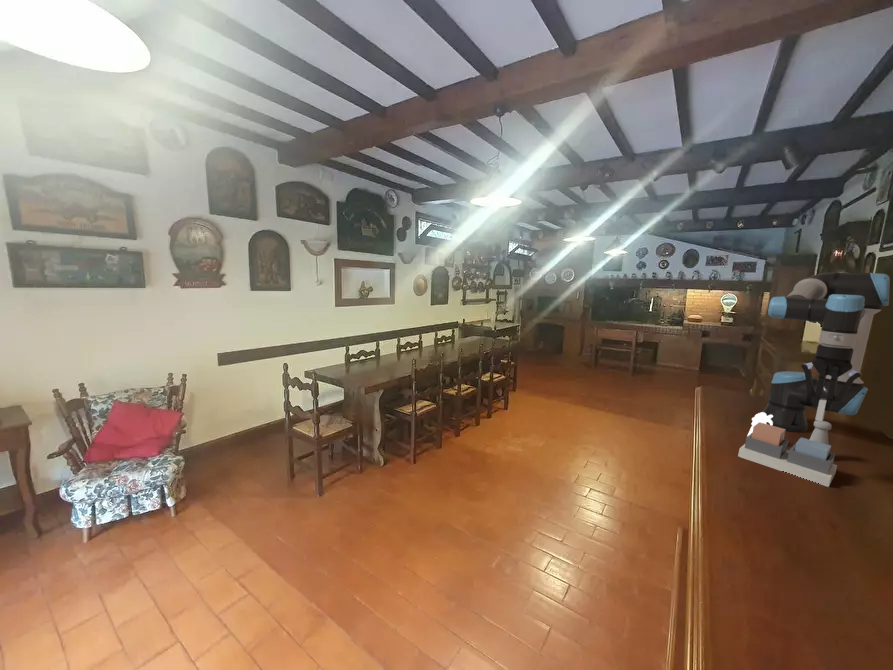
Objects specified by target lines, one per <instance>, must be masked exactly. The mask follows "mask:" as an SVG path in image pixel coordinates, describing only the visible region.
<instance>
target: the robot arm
mask: <svg viewBox="0 0 893 670" xmlns="http://www.w3.org/2000/svg"><path fill="white" fill-rule="evenodd" d="M890 281H891V279H890V276H889V275H888V274H886V273H876V272H824V273H818V274H814V275H810V276H807V277H804V278H803V279H801V280H799V281H798V282H797V283H795V285H794V287H793V289H792V291H791V292H790V293H789V294H788V295H786V296H784V295H783V296H773V297H772V298H770V300H769V304H768V310H767V311H768V312H767V313H768V316H769V317H770V318H773V319H780V320H791V321H802V322H803V321H804V322H812V323H813V322H816V323H822V325H821V326H822V327H821V330H820V333H819V338H818V342H819V344H818V345H817V348H816V352H815V357H814V358H813V359H812V360H811V362H808V363H802V364H801V365H800V367H801V368H802V370H803V371H802V372H801V371H787V370H786V371H778V372H775V373H774V374H773V377H772V380H771V382H770V383H771V386H770V390H769V395H768V400H767V401H768V402H767V404H766V406H765V407H764V409H762V411H761V412H764V413H766V415H767V416H768V415H773V417H772V418H771V420H772V422H773V425H772V426H775V427H779V428H783V429H786V430H785V431H787V430H788V432H795V433H804V432H807V431H808V421H807V417H806V412H805V411H806V407H810V408H813V409H817V410H816V413H815V417H814V419H815V420H814V421H816V420H819V421H824V419H825V413H826V412H833V413H836V414H840V415H841V414H842V415H847V416H854V415H856V414H858V412H859V410H860V408H861V406H862V403H863V401H864V399H865V396H866V394H867V393H868V391H869V389H868V387H866V386H864V380H862V379H861V378H860V377H861V376H862V372H861V369H862V365H863V360H864V358H865V353H866V348H867V344H868V340H869V337H870V336H869V335H870V332H871V327H872V323H873V319H874V315H876V314H878V313H879V312H881V311H882V308H883V307H887V306H889V305H890V289H891V288H890V286H891V285H890V284H891V283H890ZM813 367H814V368H815V369H816V372H817V373H819V375H818V378H814V377H813V373H812V372H813V371H812V369H813ZM766 424H768V425H770V423H769V422H766Z"/></svg>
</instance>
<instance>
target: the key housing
mask: <svg viewBox="0 0 893 670" xmlns="http://www.w3.org/2000/svg"><path fill="white" fill-rule="evenodd" d="M751 437H752V433H751V434H750V435H749V436H747V435H746V438H745V443H744V444H743V445H742V446H740V448H739V449H738V450H739V451H738V454H737V457H739V458H742V459H745V460H747V461H750V462H753V463H757V464H759V465H762V466H765V467H769V468H771V469H774V470H777V471H780V472H782V471H784V472H783V473H785V472H787V473H786V474H788V473H790V474H789V475H791V474H793V475H792V476H794V475H796V476H795V477H797V476H798V478H800V477H801V479H803V478H804V479H803V480H806V479H807V481H809V480H810V482H812V481H813V482H812V483H815V482H816V483H815V484H818V483H819V484H818V485H821V486H824V487H827V488H830V485H831V483H832V481H833V479H834V478H835V475H836V472H837V469H838V468H837V467H838V465H837V464H835V463H834V460H835V457H836V453H831V452H830V454H829V458H828V461H827V460H823V459H820V458H817V457H813V456H810V455H807V454H803V453H800V452H797V451H795V447H796V443H797V442H795V443H794V444H793V445H792V446H791V448H789V450H788V445H789V444H788V443H789V440H788V439H784V440H783V443H782V444H781V445H780V446H777V445H773V444H770V443H767V442H763V441H760V440H757V439H753V438H751Z"/></svg>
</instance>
